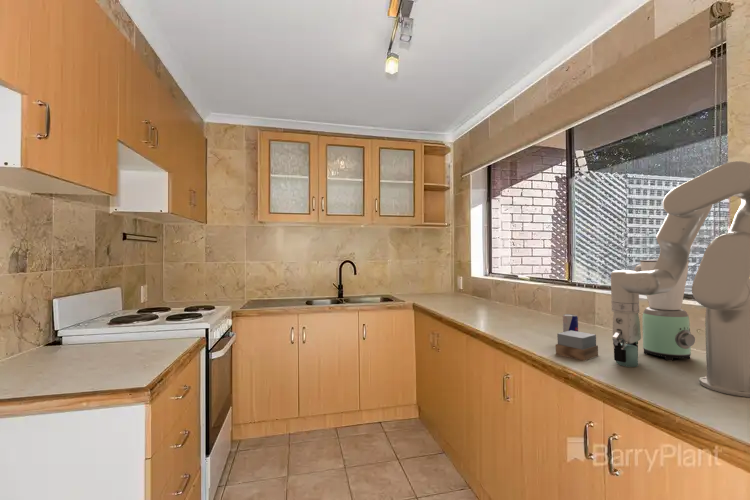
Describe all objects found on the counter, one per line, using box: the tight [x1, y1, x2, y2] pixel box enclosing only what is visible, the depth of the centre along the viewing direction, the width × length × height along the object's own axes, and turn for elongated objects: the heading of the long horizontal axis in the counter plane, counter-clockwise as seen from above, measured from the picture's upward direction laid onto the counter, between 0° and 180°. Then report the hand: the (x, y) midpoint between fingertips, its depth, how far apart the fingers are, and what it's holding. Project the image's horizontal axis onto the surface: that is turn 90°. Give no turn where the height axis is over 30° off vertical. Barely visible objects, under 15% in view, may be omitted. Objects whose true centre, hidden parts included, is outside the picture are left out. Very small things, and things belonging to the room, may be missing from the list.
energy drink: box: [562, 313, 579, 332], centre depth 140 cm, size 5×5×12 cm
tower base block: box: [555, 343, 599, 362], centre depth 127 cm, size 10×10×4 cm
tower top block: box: [557, 330, 597, 350], centre depth 127 cm, size 9×9×4 cm
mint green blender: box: [633, 258, 696, 362], centre depth 124 cm, size 19×13×35 cm
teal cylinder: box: [615, 343, 639, 368], centre depth 115 cm, size 6×6×6 cm
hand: (626, 358), depth 115 cm, fingers open, 9 cm apart
